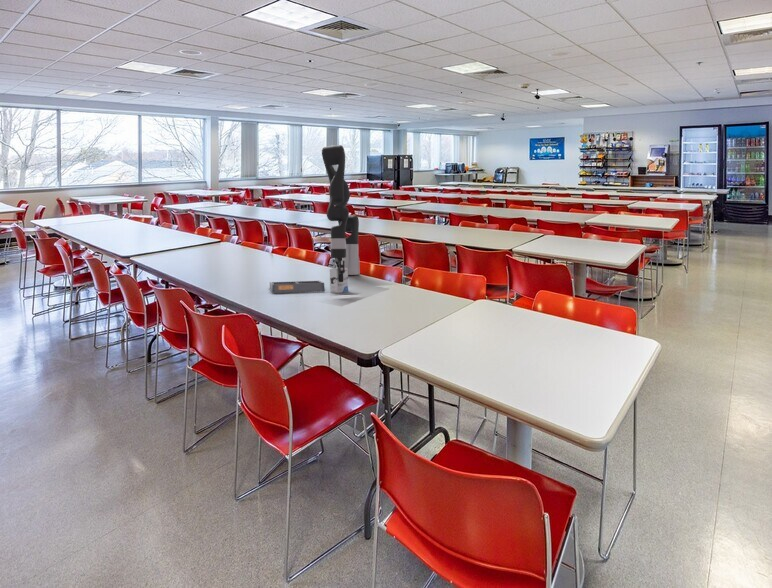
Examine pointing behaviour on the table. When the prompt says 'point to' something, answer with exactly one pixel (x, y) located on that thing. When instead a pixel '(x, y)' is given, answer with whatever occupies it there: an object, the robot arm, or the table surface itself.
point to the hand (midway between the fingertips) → (338, 281)
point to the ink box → (338, 281)
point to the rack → (296, 286)
